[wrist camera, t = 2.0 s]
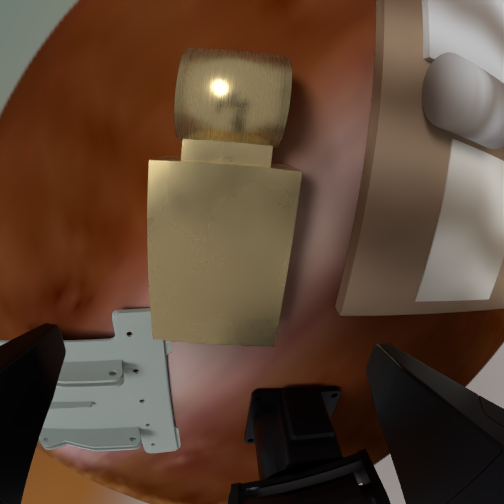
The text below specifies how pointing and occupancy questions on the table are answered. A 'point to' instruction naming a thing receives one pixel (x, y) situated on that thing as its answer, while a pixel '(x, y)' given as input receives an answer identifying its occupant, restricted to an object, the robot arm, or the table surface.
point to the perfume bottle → (223, 203)
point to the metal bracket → (114, 391)
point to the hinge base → (431, 164)
